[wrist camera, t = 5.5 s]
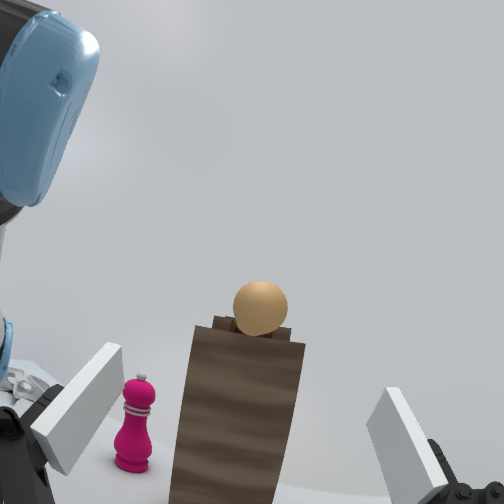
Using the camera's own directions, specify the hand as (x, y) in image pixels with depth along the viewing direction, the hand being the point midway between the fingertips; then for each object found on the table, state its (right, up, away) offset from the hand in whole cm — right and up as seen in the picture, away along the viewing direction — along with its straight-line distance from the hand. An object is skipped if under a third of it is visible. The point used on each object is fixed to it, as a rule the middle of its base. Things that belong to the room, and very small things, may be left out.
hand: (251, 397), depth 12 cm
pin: (0, -2, +15) cm, 16 cm away
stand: (-5, -31, +12) cm, 34 cm away
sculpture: (-59, -29, +35) cm, 75 cm away
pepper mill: (-22, -33, +27) cm, 48 cm away
